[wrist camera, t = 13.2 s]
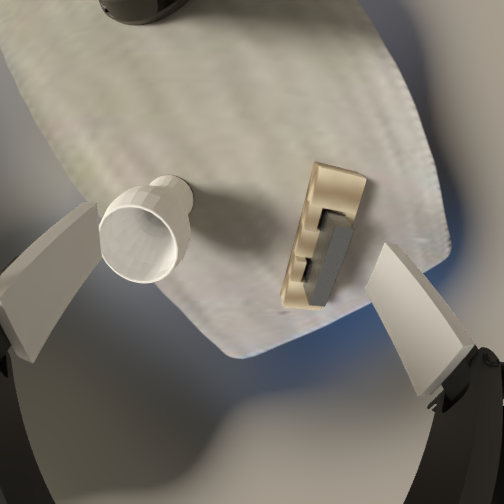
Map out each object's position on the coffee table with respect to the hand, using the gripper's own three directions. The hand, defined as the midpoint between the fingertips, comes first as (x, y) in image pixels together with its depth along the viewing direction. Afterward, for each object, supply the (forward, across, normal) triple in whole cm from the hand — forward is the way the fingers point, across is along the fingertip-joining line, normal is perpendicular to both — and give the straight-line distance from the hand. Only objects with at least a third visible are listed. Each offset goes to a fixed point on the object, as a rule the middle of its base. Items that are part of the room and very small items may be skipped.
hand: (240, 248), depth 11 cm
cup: (+29, -10, -9) cm, 32 cm away
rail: (+29, +14, -12) cm, 34 cm away
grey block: (+28, +14, -12) cm, 33 cm away
